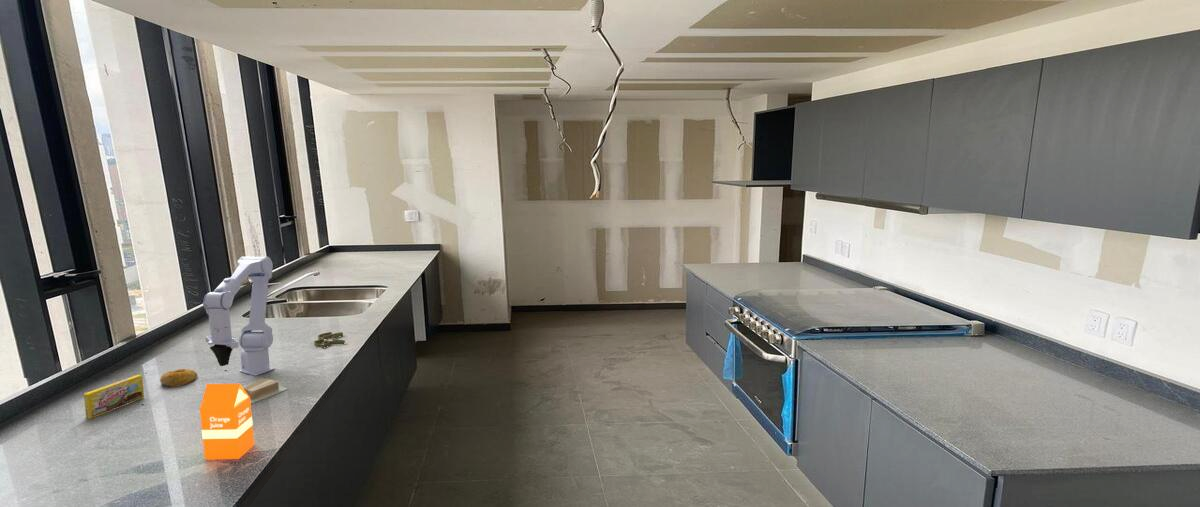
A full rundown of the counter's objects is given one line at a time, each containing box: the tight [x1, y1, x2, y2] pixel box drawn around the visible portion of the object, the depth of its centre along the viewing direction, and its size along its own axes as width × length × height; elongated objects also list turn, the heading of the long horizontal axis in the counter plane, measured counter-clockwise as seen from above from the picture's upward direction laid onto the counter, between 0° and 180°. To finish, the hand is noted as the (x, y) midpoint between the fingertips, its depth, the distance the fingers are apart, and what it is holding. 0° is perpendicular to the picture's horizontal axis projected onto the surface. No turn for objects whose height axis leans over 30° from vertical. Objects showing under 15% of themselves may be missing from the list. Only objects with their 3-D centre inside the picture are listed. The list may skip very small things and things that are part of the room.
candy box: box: [83, 374, 145, 419], centre depth 171 cm, size 16×2×8 cm, turn 168°
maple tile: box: [241, 377, 279, 400], centre depth 184 cm, size 3×9×7 cm
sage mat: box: [250, 385, 288, 405], centre depth 184 cm, size 8×13×1 cm, turn 156°
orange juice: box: [199, 383, 255, 460], centre depth 146 cm, size 8×9×20 cm
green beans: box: [313, 331, 346, 349], centre depth 239 cm, size 18×12×2 cm, turn 28°
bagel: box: [159, 368, 198, 387], centre depth 192 cm, size 10×11×5 cm
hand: (224, 364), depth 182 cm, fingers closed
